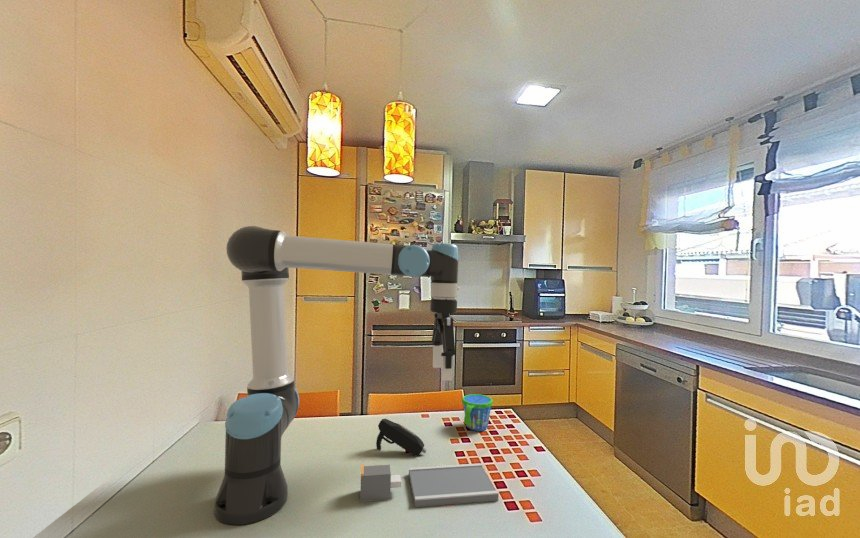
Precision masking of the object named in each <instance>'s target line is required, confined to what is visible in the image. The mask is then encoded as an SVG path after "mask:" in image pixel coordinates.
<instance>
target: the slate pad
mask: <svg viewBox="0 0 860 538" xmlns="http://www.w3.org/2000/svg"><path fill="white" fill-rule="evenodd" d="M408 477H409V483H410V487H411V493H412V498H413V503H414V507H415V508H420V507H432V506H433V507H434V506H445V505H446V506H447V505H457V504H458V505H459V504H470V503H471V504H473V503H484V502H498V501H499V491H498V490H497V489H496V487H495V485H494V484H493V482H492V481H491V479H490V478H489V476H488V474H487V472H486V471H485V468H484V467H483V464H482V463H467V464H463V463H462V464H449V465H437V466H436V465H433V466H417V467H408Z"/></svg>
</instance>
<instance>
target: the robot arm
mask: <svg viewBox="0 0 860 538" xmlns="http://www.w3.org/2000/svg"><path fill="white" fill-rule="evenodd" d="M226 255H227V258H228V260H229V262H230V263H231V264H232V265H233V266H234V267H235V268H236V269H238V270H239V271H241V282H242V283H243V284H244V285H245V286H247V288H248V299H249V301H248V302H249V319H250V320H249V321H250V323H249V324H250V340H251V342H250V343H251V360H252V361H251V362H252V379H251V380H250V381H249V383H247V385H246V389H247V394H246V396H245V397H241V398H239V399H237V400H235V401H234V402H233V403H231V405H230V406H229V408H228V409H227V412H226V418H225V423H224V425H225V426H224V428H225V444H224V447H225V448H224V449H225V450H224V476H223V478H222V481H221V484H220V486H219V489H218V492H217V495H216V498H215V500H214V516H215V518H216V519H217V521H218V522H221V523H222V524H225V525H233V526H240V525H241V526H242V525H248V524H253V523H257V522H260V521H263V520H265V519H268V518H269V517H271V516H273V515H274V514H276V513H277V512H279V511H280V510H281V509H282V508H283V507H284V506H285V504H286V503H287V501H288V495H289V494H288V492H289V491H288V490H289V489H288V483H287V481H286V480H287V479H286V478H285V474H284V472H283V468H282V465H281V460H282V459H281V458H282V457H281V456H282V455H281V454H282V437H283V434H284V433H286V430H287V429H288V427H289V426H290V424H291V422H292V421H294V419H295V417H296V416H297V413H298V410H299V406H300V395H299V393H298V391H297V389H296V388H295V379H294V378H295V377H294V376H293V375H291V373H290V374H289V370H288V367H289V366H288V353H287V352H288V351H287V349H288V347H287V332H286V331H287V330H286V312H285V311H286V309H285V307H286V306H285V291H284V288H285V287H284V285H285V284H286V283H287V282H288V281H289V280H290V273H289V271H290V270H289V269H290V268H291V269H304V270H317V271H318V270H320V271H335V272H344V273H345V272H346V273H358V274H359V273H360V274H361V273H363V274H373V275H374V274H376V275H390V276H393V277H395V276H396V277H401V278H402V277H409V278H410V277H411V278H413V277H414V278H418V277H421V278H422V277H426V278H427V277H428V278H429V277H430V278H431V280H430V296H431V299H430V309H429V310H430V312H432V313H434V314H433V315H434V319H433V320H434V321H433V329H432V335H431V336H432V337H431V342H432V346H433V347H432V368H433V369H441V381H442V382H443V381H444V382H446V381H447V382H448V381H449V382H451V381H453V372H454V371H453V370H454V356H456V344H455V331H454V317H451V316H450V314H455V313H457V311H458V300H457V299H456V298H457V297H458V291H459V290H460V286H458V277H459V276H458V275H459V248H458V246H457V245H456V244H453V243H446V242H445V243H441V242H439V243H433V244H432V247H431V249H427V250H426V249H425V248H424V247H423V246H420V244H409V245H406V244H393V243H382V242H381V243H380V242H369V241H359V240H344V239H334V238H333V239H332V238H320V237H309V236H296V235H288V234H287V233H286V231H284V230H275V229H269V228H264V227H261V226H255V225H248V226H247V225H246V226H243V227H241V228H239V229H237V230H235V231H234V232H233V233H232V234H231V235H230V237H229V238H228V241H227V243H226Z"/></svg>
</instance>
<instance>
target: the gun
mask: <svg viewBox="0 0 860 538" xmlns="http://www.w3.org/2000/svg"><path fill="white" fill-rule="evenodd" d="M377 427H378V430H379V433H378V435H377V437H376V443H375V445H376V449H377V450H378V451H381V450H382V445H381V444H382V442H383V441H385V442H386V443H388V444H390V445H392V444H395V445H397V446H399V447H401V448H402V449H403V450H404V451H406V452H407V453H409V454H411V455H412V456H414V457H419V456H420V454H422V453H423V454H426V452H427V449H426V448H425V444H424V442H423V440H422V439H421V438H420V437H419V436H418V435H416V433H414V432H413V431H412V430H410V429H408V428H407V427H405V426H403V425H401V424H400V423H396V422H394V421H391V419H387V418H382V419H381V420H380V421H379V423H378V425H377Z"/></svg>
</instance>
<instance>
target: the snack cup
mask: <svg viewBox="0 0 860 538" xmlns="http://www.w3.org/2000/svg"><path fill="white" fill-rule="evenodd" d="M493 401H494V400H493V399H492V397H490V396H488V395H486V394H480V393H479V394H478V393H474V394H473V393H471V394H466V395H464V396H462V399H461V403H462V405H463V410H464V412H463V413H464V419H463V422H464V424H465V425H466V428H467V429H469V430H471V431H476V432H483V431H485V430H487V429H488V427H489V421H490V416H491V415H490V414H491V411H492V410H491V408H492V406H493V403H494V402H493Z"/></svg>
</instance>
